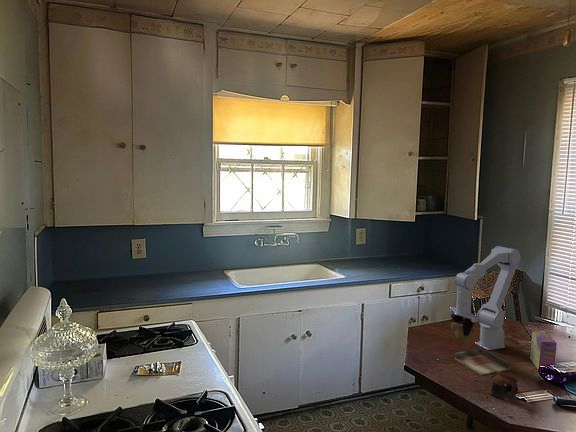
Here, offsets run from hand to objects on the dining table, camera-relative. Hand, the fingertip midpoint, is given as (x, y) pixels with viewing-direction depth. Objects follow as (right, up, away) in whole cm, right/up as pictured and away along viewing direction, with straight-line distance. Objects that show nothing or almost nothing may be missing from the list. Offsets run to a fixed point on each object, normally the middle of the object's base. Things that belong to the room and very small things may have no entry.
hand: (462, 333), depth 190 cm
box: (+27, -10, -11) cm, 31 cm away
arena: (+4, -10, -10) cm, 14 cm away
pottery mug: (+2, -13, -33) cm, 36 cm away
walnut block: (0, -2, 0) cm, 2 cm away
